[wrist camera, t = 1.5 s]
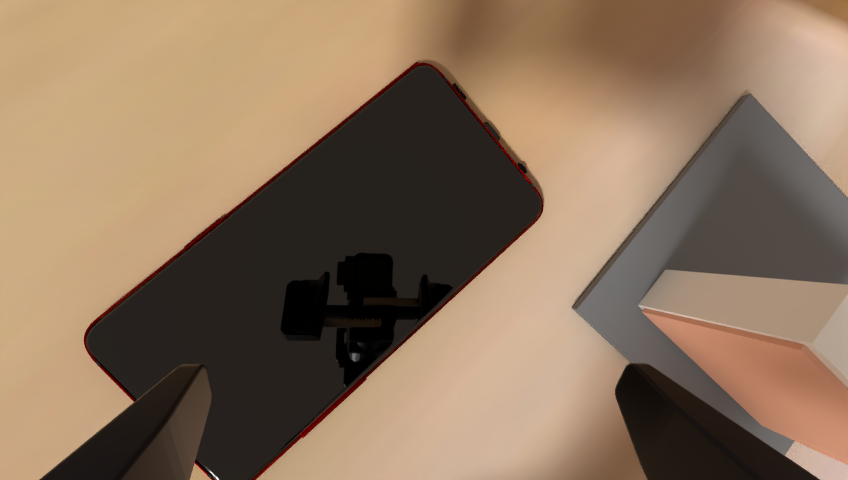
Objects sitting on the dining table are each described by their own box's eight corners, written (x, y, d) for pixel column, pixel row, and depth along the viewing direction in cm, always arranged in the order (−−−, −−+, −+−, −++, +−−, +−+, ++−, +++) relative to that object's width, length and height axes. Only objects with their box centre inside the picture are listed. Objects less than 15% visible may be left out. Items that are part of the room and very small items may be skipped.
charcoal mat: (756, 478, 27) (764, 483, 27) (571, 307, 25) (576, 309, 25) (903, 268, 29) (914, 269, 29) (742, 96, 27) (750, 93, 27)
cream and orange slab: (757, 424, 27) (990, 531, 17) (634, 308, 25) (807, 349, 15) (785, 386, 27) (1029, 468, 17) (665, 269, 26) (854, 285, 16)
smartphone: (559, 205, 25) (232, 506, 21) (547, 207, 26) (241, 489, 23) (429, 46, 23) (64, 338, 20) (425, 59, 25) (85, 332, 22)
